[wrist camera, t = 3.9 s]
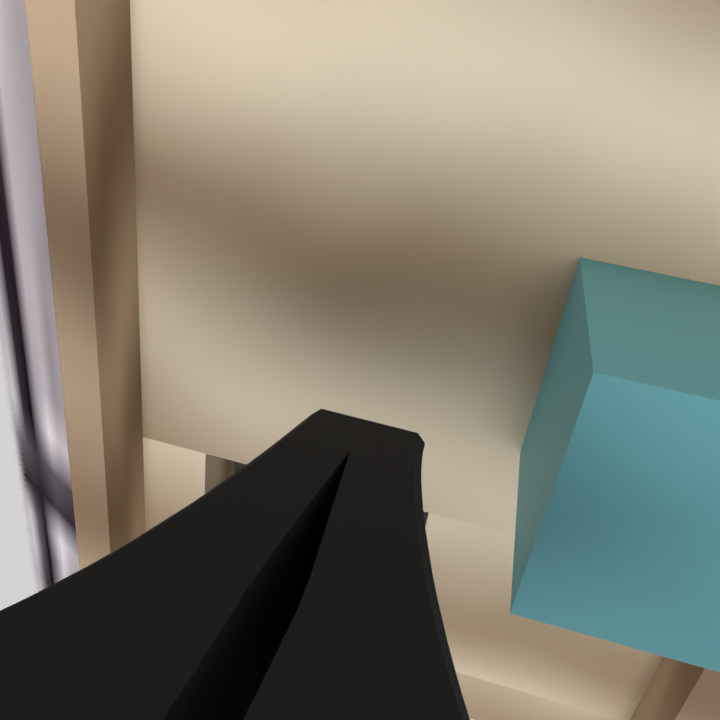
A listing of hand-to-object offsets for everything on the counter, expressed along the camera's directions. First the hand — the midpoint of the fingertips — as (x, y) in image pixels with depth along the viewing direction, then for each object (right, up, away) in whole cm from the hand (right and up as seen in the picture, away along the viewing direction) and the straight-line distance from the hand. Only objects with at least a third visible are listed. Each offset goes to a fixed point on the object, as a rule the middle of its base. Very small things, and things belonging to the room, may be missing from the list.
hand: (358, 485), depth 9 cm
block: (+5, +1, +3) cm, 6 cm away
